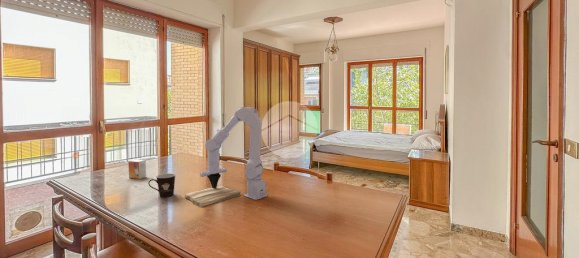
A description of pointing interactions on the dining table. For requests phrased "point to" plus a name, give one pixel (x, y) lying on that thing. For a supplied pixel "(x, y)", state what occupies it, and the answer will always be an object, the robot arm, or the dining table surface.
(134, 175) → the small box
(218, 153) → the robot arm
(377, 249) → the dining table surface
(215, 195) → the laid boards
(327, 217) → the dining table surface
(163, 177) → the coffee mug
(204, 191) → the plank
